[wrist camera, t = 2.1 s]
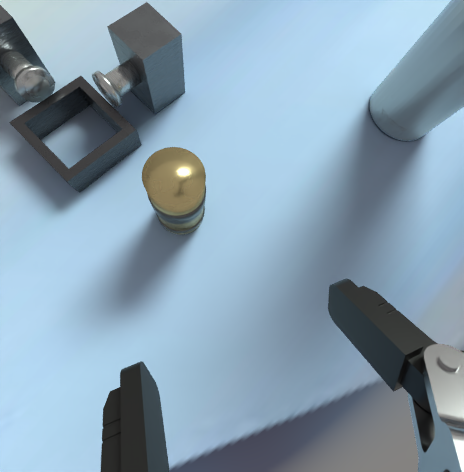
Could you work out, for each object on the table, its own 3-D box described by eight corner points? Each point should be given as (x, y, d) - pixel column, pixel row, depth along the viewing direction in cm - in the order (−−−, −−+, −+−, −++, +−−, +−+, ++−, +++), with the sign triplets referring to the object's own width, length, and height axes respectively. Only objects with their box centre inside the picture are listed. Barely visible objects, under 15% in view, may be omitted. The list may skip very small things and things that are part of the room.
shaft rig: (100, 12, 37) (74, -65, 29) (196, 102, 35) (195, 46, 27) (-24, 86, 32) (-94, 19, 25) (79, 192, 31) (39, 157, 23)
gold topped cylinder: (182, 183, 33) (175, 134, 23) (213, 214, 32) (220, 177, 23) (148, 212, 31) (126, 173, 22) (180, 244, 31) (172, 219, 21)
